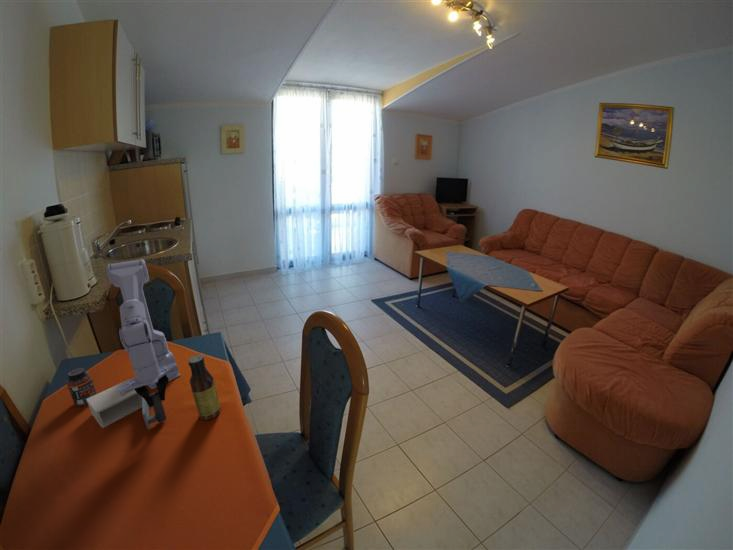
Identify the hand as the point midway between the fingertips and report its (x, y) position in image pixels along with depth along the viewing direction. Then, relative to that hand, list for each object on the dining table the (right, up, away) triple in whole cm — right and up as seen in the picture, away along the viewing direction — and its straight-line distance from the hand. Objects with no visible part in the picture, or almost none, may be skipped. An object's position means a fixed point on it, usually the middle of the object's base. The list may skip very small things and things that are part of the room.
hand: (156, 402), depth 98 cm
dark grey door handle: (-3, -5, +5) cm, 8 cm away
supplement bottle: (-30, -4, +12) cm, 33 cm away
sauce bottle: (+13, -6, +6) cm, 15 cm away
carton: (-16, -5, +8) cm, 19 cm away
